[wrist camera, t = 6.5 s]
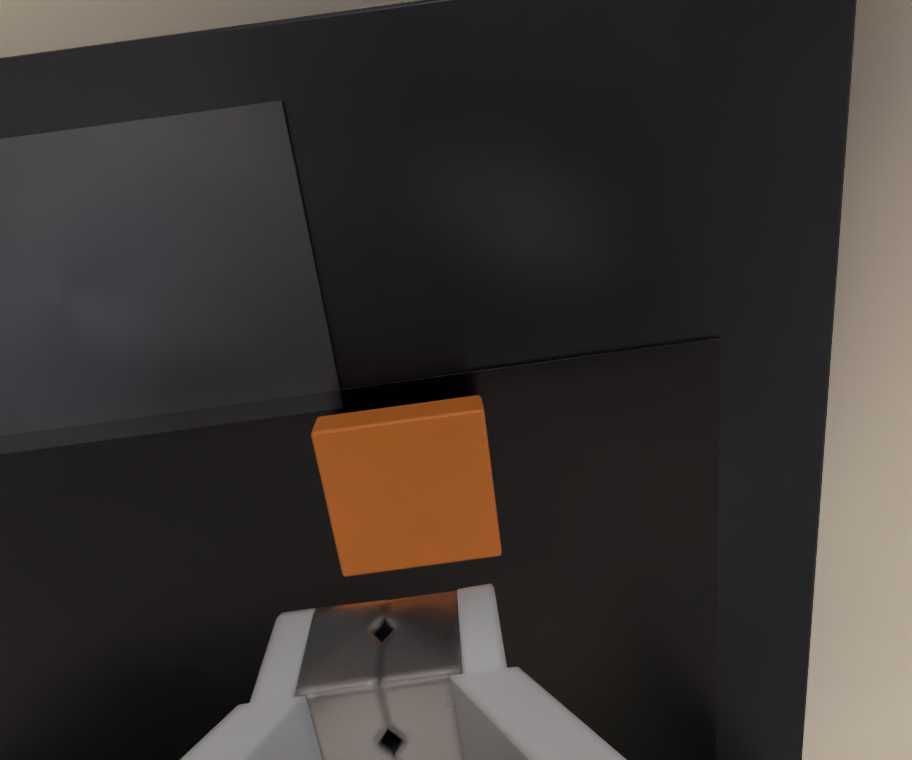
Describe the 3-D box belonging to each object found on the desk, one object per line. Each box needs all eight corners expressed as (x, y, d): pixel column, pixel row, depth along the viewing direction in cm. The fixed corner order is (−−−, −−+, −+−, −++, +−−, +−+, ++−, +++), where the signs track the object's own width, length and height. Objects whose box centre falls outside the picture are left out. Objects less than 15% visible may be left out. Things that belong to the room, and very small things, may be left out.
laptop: (-697, 172, 13) (-897, 178, 11) (800, -32, 13) (867, -63, 11) (-202, 880, 20) (-269, 960, 18) (764, 751, 20) (801, 817, 18)
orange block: (315, 415, 13) (309, 432, 12) (480, 393, 13) (484, 409, 12) (346, 554, 14) (342, 579, 13) (498, 534, 14) (502, 557, 13)
